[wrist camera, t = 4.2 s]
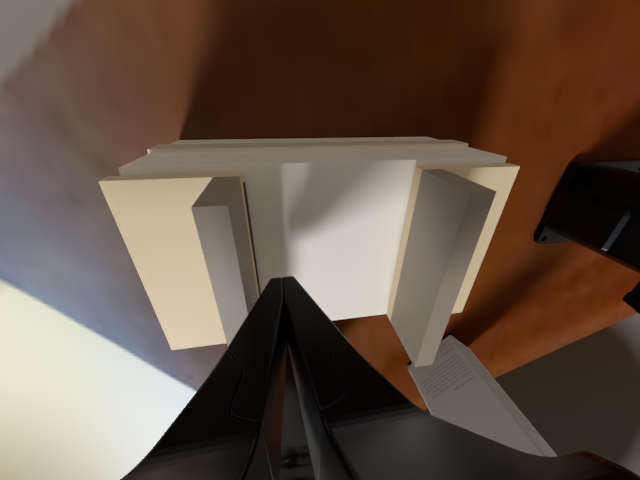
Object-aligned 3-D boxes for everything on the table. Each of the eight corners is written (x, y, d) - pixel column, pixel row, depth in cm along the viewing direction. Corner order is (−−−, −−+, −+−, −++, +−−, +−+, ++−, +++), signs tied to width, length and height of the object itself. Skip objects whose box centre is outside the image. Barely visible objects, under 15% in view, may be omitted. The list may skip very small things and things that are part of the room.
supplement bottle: (337, 349, 24) (388, 542, 13) (292, 388, 26) (306, 584, 15) (279, 322, 21) (287, 544, 10) (232, 368, 23) (200, 596, 12)
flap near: (241, 172, 8) (227, 205, 6) (264, 329, 12) (262, 392, 10) (107, 176, 8) (26, 215, 5) (175, 340, 12) (148, 410, 9)
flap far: (386, 314, 13) (414, 367, 10) (415, 166, 9) (470, 192, 7) (455, 305, 14) (498, 353, 11) (509, 163, 10) (592, 186, 7)
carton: (428, 133, 15) (511, 153, 10) (404, 249, 19) (454, 306, 14) (176, 136, 13) (112, 164, 8) (209, 265, 17) (182, 341, 12)
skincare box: (426, 376, 29) (514, 533, 18) (403, 364, 27) (487, 533, 16) (470, 345, 27) (594, 498, 17) (449, 330, 25) (574, 493, 15)
